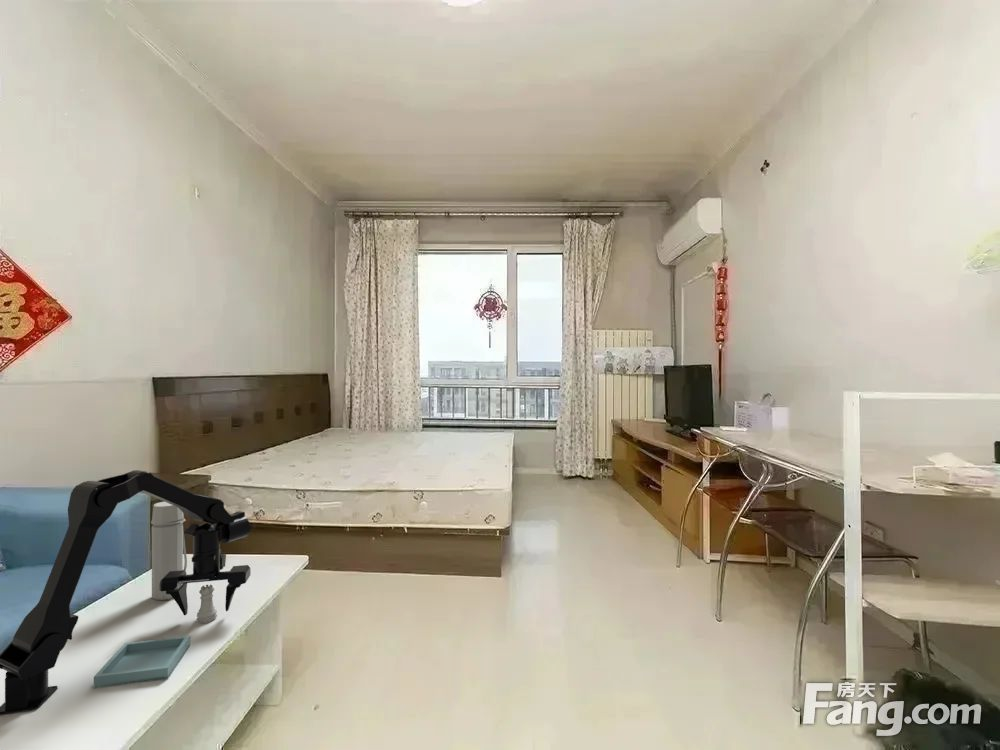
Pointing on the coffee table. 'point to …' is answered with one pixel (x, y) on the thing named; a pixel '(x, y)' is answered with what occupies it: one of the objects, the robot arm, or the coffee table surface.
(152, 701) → the coffee table surface
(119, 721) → the coffee table surface
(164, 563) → the water bottle
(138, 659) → the slate tray
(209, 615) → the rook chess piece
